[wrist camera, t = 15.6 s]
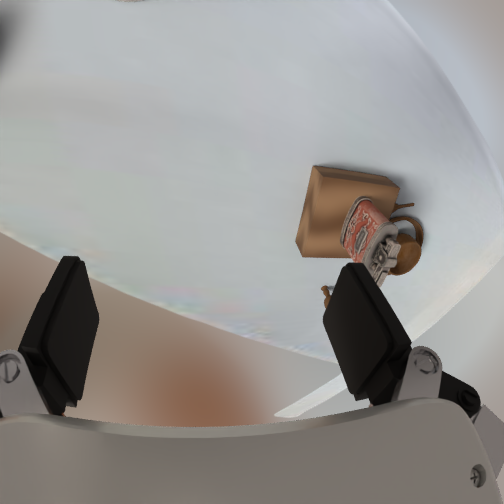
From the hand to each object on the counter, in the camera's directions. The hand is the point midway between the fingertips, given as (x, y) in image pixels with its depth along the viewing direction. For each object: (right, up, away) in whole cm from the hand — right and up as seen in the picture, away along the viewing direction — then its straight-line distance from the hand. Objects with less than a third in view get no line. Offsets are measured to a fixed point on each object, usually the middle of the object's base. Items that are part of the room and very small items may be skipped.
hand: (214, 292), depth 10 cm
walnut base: (+14, +8, +32) cm, 36 cm away
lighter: (+15, +6, +29) cm, 33 cm away
